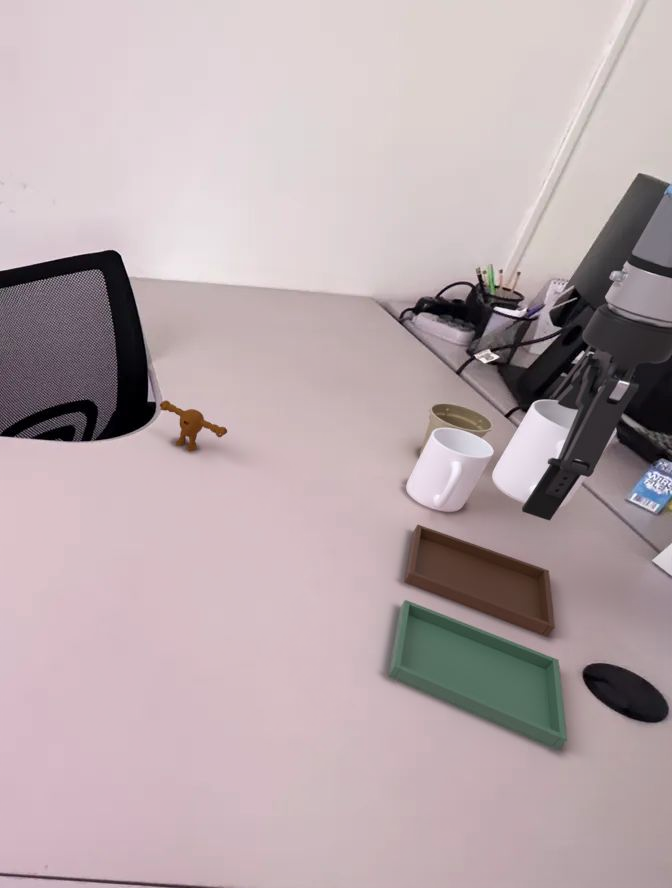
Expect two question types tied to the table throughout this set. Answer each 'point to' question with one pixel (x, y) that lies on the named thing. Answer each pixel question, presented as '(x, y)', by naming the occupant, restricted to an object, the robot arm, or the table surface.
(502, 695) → the green tray
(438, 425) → the flower pot
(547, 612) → the walnut tray
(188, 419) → the toy figurine
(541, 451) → the mug
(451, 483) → the cup
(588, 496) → the table surface
